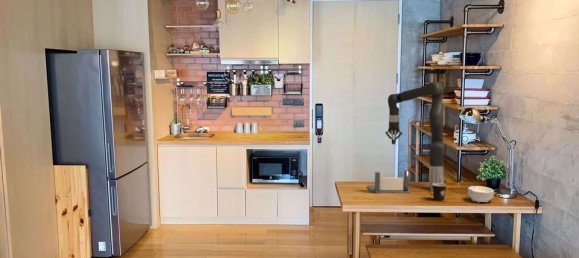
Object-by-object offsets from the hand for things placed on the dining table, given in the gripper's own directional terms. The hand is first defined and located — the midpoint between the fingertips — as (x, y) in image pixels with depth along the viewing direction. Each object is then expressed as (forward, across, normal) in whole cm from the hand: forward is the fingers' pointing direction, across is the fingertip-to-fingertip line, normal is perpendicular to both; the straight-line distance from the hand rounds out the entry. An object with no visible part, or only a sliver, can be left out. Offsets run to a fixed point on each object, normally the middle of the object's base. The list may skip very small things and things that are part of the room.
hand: (393, 144), depth 339 cm
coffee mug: (+29, +28, -42) cm, 59 cm away
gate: (+27, -2, -29) cm, 40 cm away
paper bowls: (+29, +55, -38) cm, 73 cm away
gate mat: (+29, -3, -23) cm, 37 cm away
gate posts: (+29, 0, -30) cm, 42 cm away
